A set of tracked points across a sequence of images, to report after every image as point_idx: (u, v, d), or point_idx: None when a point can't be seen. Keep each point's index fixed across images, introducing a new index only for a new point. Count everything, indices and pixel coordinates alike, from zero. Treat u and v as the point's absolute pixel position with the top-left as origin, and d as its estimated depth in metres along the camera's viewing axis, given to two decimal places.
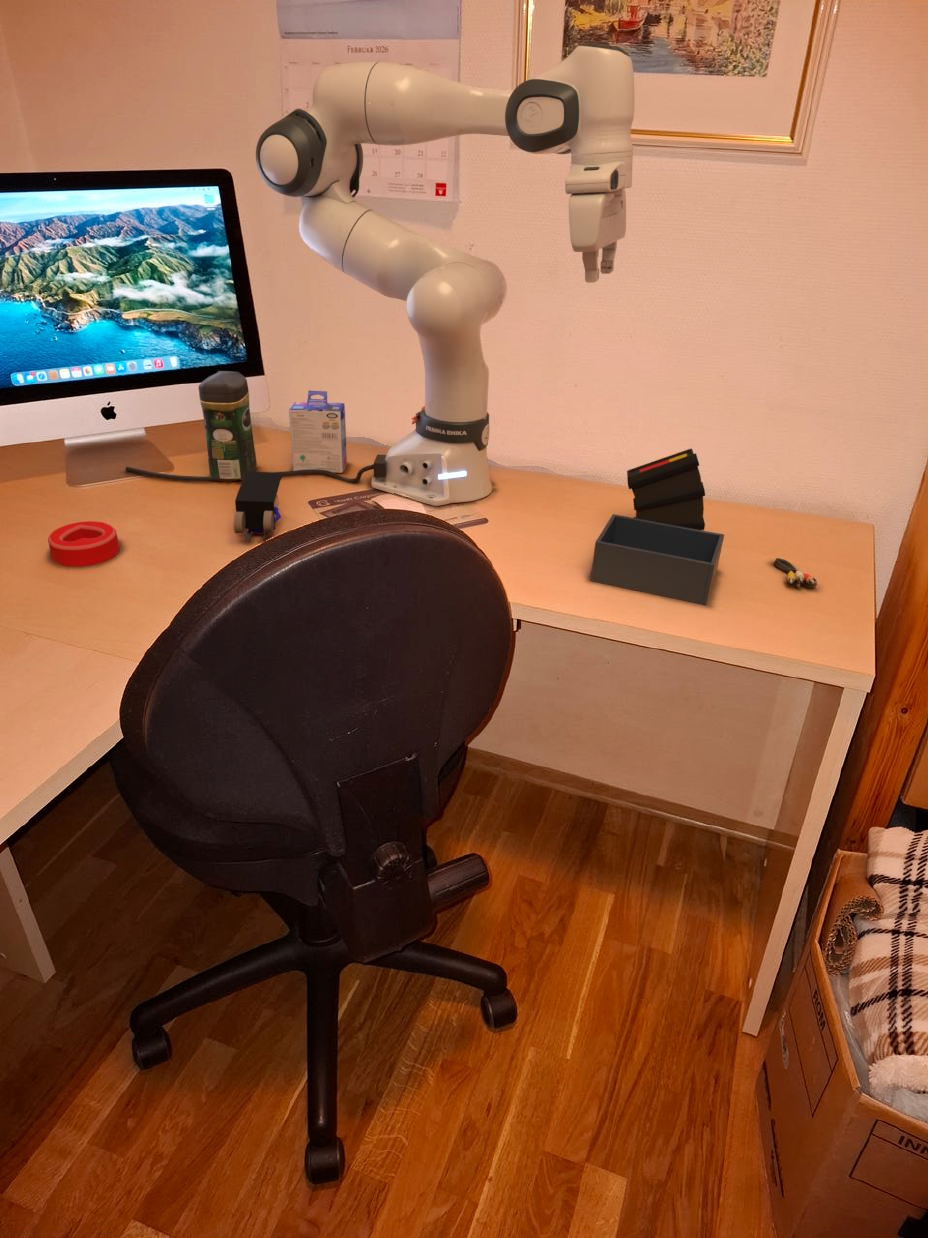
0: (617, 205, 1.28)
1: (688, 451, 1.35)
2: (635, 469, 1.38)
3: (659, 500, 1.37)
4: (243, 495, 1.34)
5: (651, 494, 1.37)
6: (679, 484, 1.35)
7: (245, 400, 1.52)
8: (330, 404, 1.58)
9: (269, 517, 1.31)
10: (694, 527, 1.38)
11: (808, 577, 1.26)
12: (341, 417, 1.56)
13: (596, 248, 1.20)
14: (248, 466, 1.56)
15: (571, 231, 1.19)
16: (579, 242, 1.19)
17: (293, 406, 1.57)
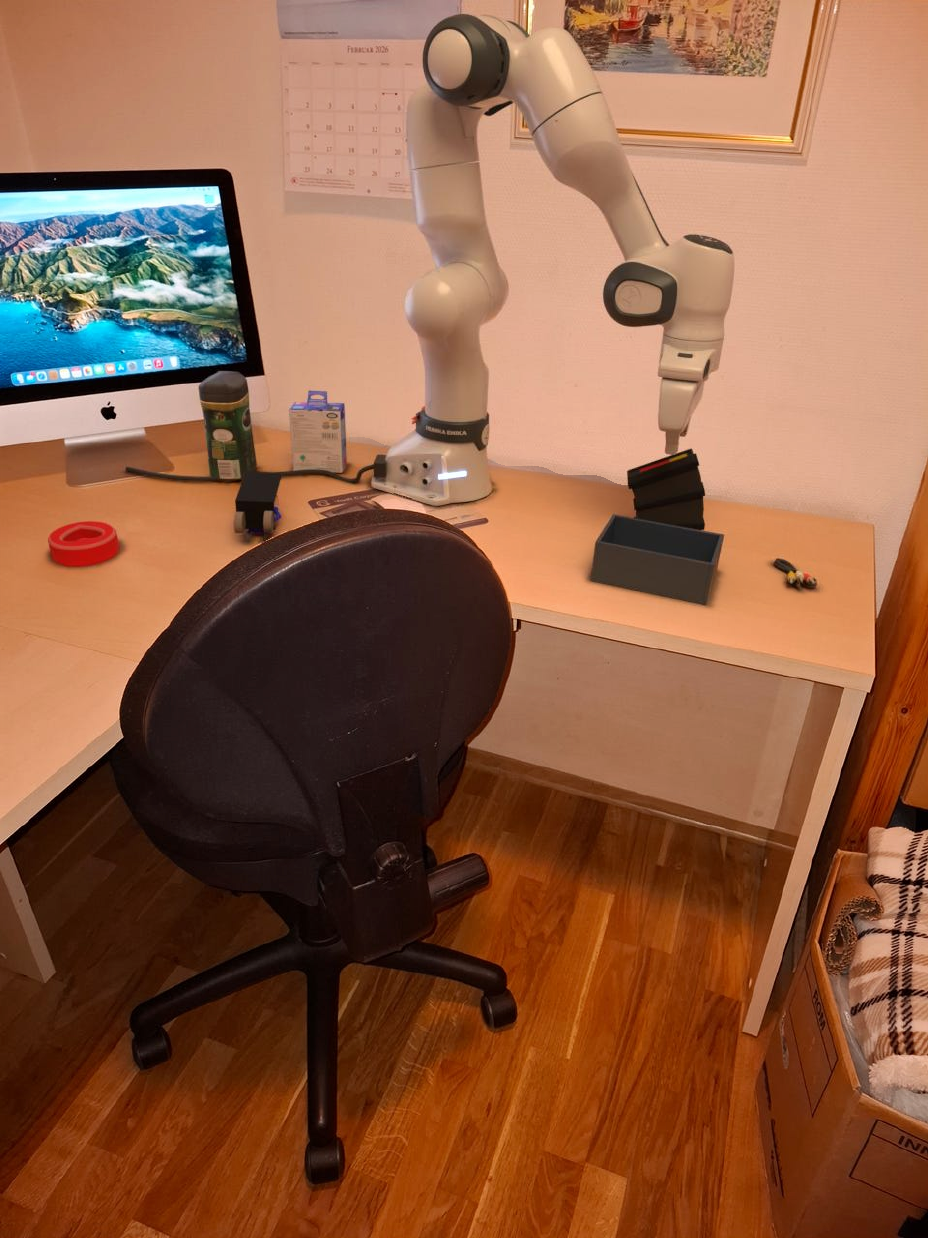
0: None
1: (688, 451, 1.35)
2: (635, 469, 1.38)
3: (659, 500, 1.37)
4: (243, 495, 1.34)
5: (651, 494, 1.37)
6: (679, 484, 1.35)
7: (245, 400, 1.52)
8: (330, 404, 1.58)
9: (269, 517, 1.31)
10: (694, 527, 1.38)
11: (808, 577, 1.26)
12: (341, 417, 1.56)
13: (682, 431, 1.23)
14: (248, 466, 1.56)
15: (660, 413, 1.22)
16: (666, 424, 1.23)
17: (293, 406, 1.57)
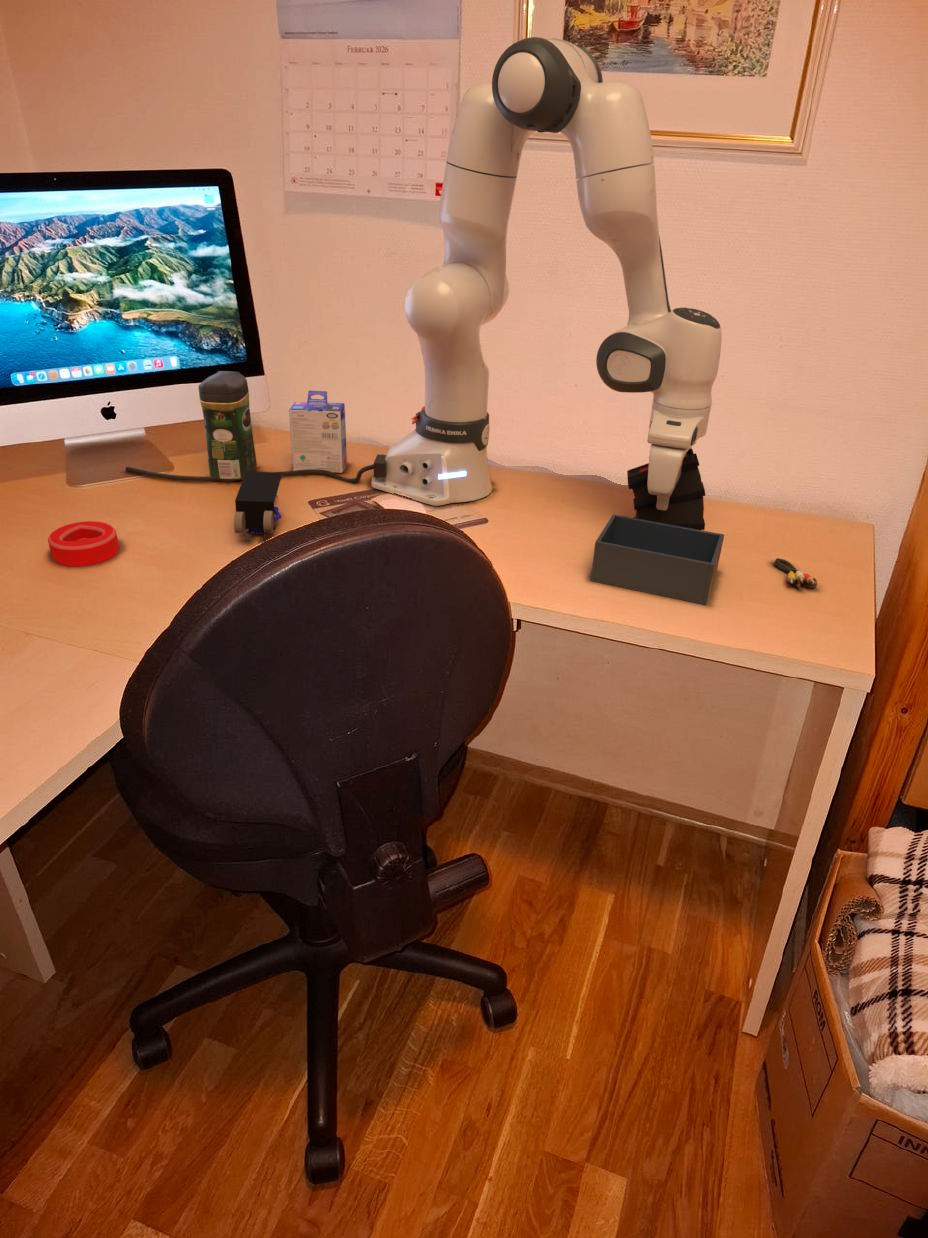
0: None
1: (688, 451, 1.35)
2: (635, 469, 1.38)
3: None
4: (243, 495, 1.34)
5: (651, 494, 1.37)
6: (679, 484, 1.35)
7: (245, 400, 1.52)
8: (330, 404, 1.58)
9: (269, 517, 1.31)
10: (694, 527, 1.38)
11: (808, 577, 1.26)
12: (341, 417, 1.56)
13: (670, 495, 1.28)
14: (248, 466, 1.56)
15: (649, 478, 1.27)
16: (655, 488, 1.28)
17: (293, 406, 1.57)
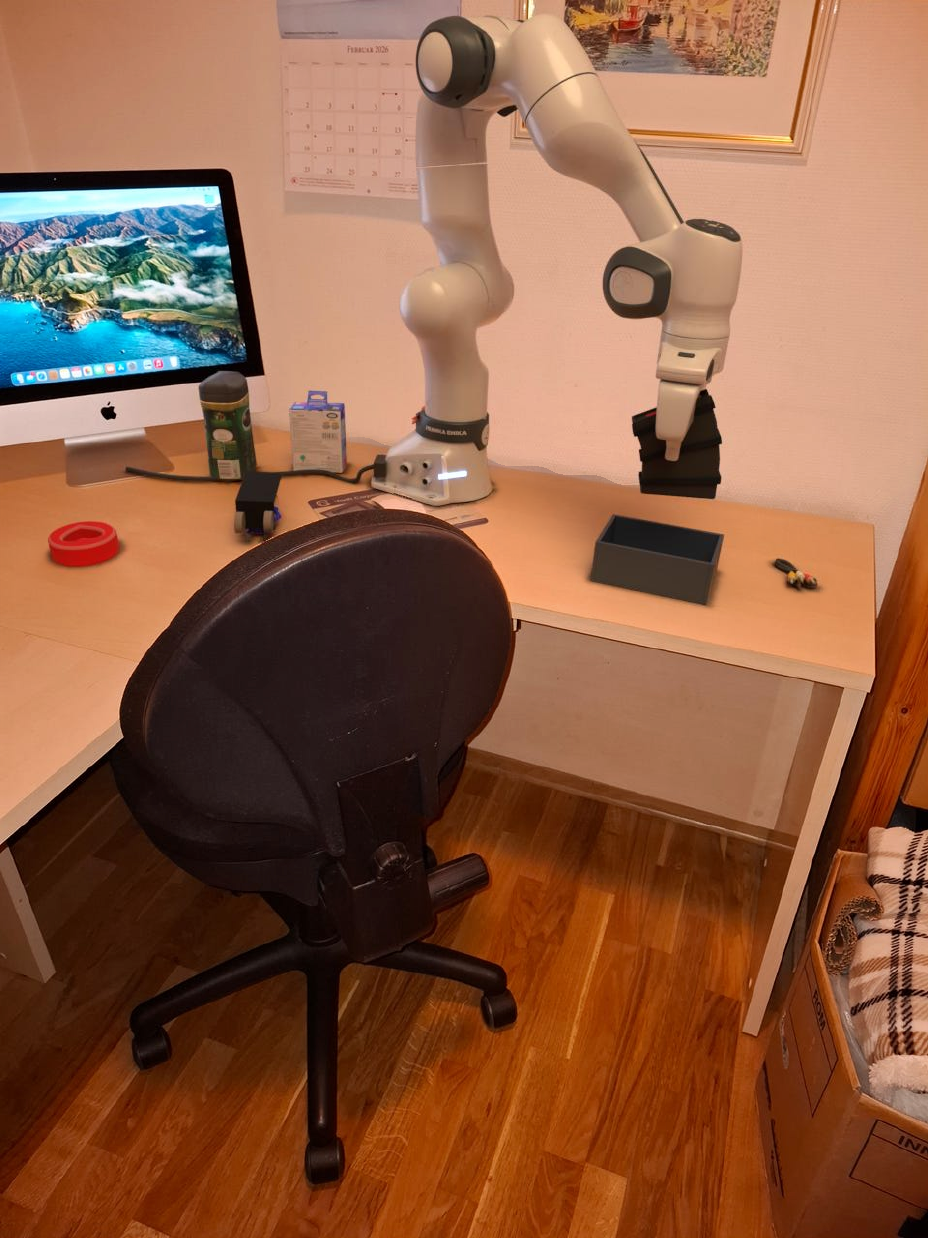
0: None
1: (702, 392, 1.17)
2: (641, 414, 1.20)
3: None
4: (243, 495, 1.34)
5: (659, 443, 1.19)
6: (692, 431, 1.17)
7: (245, 400, 1.52)
8: (330, 404, 1.58)
9: (269, 517, 1.31)
10: (709, 481, 1.20)
11: (808, 577, 1.26)
12: (341, 417, 1.56)
13: (682, 439, 1.10)
14: (248, 466, 1.56)
15: (658, 419, 1.09)
16: (665, 432, 1.10)
17: (293, 406, 1.57)
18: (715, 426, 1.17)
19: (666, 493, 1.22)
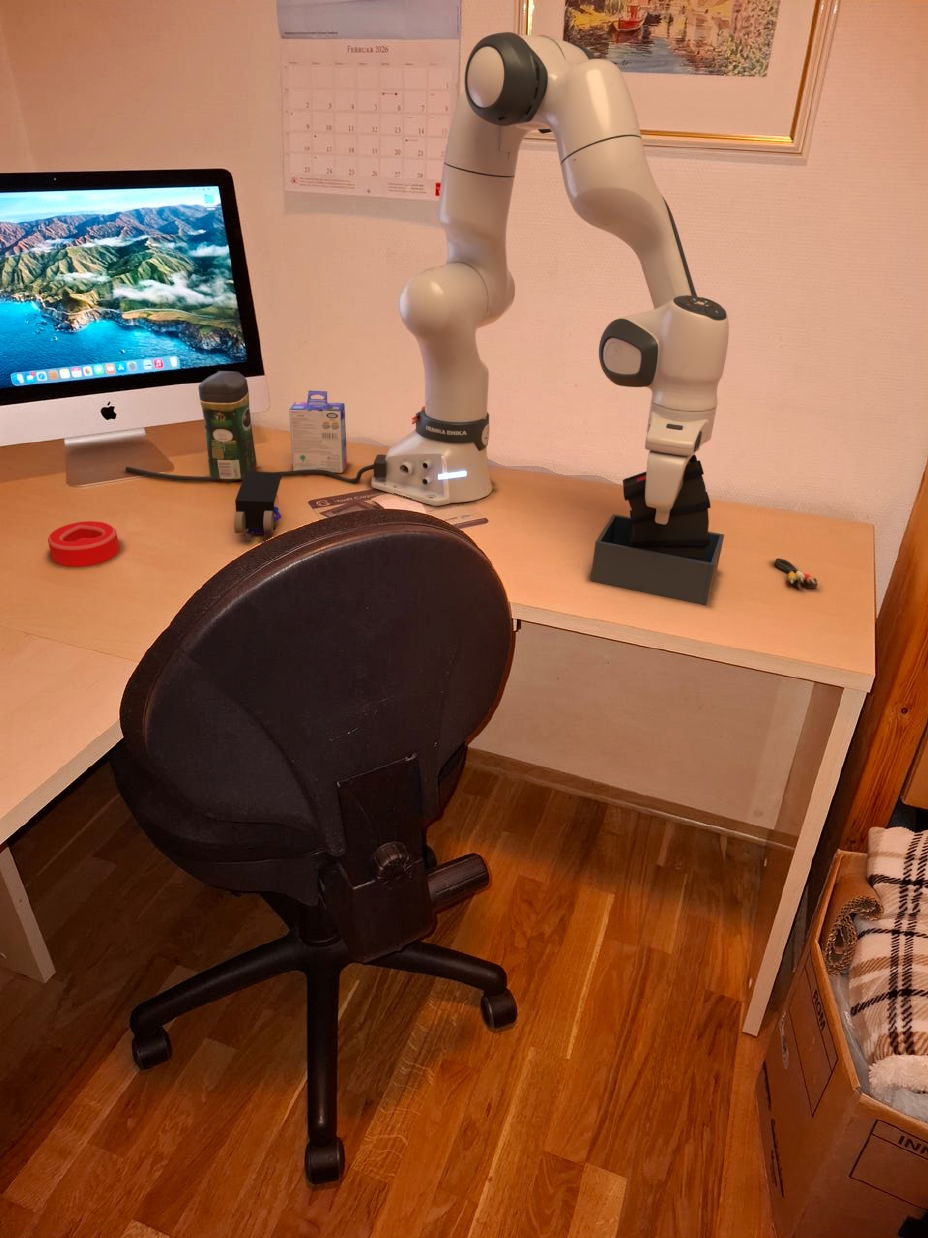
0: None
1: (691, 458, 1.20)
2: (632, 478, 1.23)
3: None
4: (243, 495, 1.34)
5: None
6: (681, 495, 1.21)
7: (245, 400, 1.52)
8: (330, 404, 1.58)
9: (269, 517, 1.31)
10: (698, 543, 1.24)
11: (809, 577, 1.26)
12: (341, 417, 1.56)
13: (671, 507, 1.14)
14: (248, 466, 1.56)
15: (647, 489, 1.13)
16: (654, 500, 1.13)
17: (293, 406, 1.57)
18: (704, 491, 1.20)
19: None
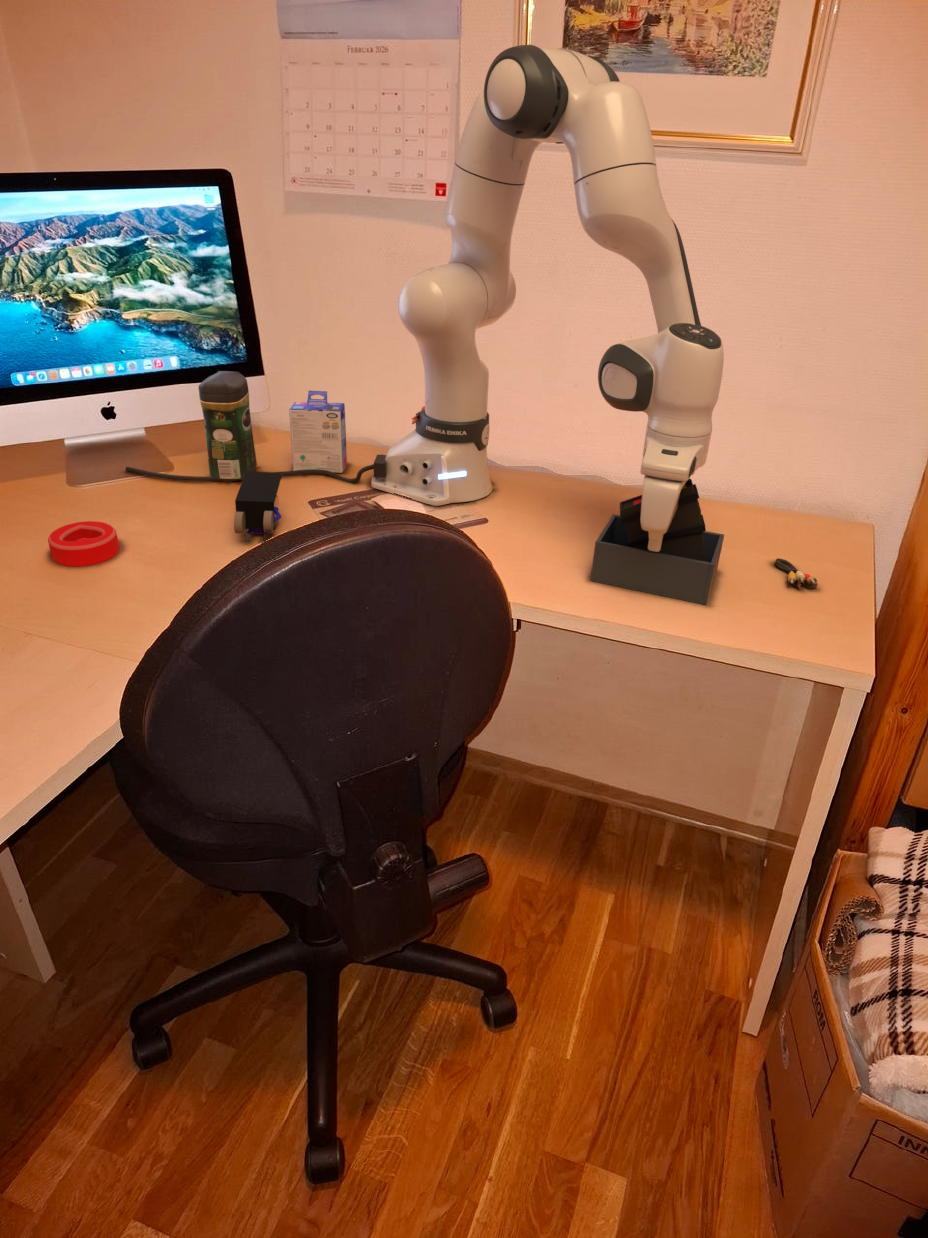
0: None
1: (687, 482, 1.22)
2: (628, 501, 1.25)
3: None
4: (243, 495, 1.34)
5: None
6: (677, 518, 1.23)
7: (245, 400, 1.52)
8: (330, 404, 1.58)
9: (269, 517, 1.31)
10: None
11: (809, 577, 1.26)
12: (341, 417, 1.56)
13: (666, 531, 1.15)
14: (248, 466, 1.56)
15: (642, 513, 1.15)
16: (649, 524, 1.15)
17: (293, 406, 1.57)
18: (699, 514, 1.22)
19: None
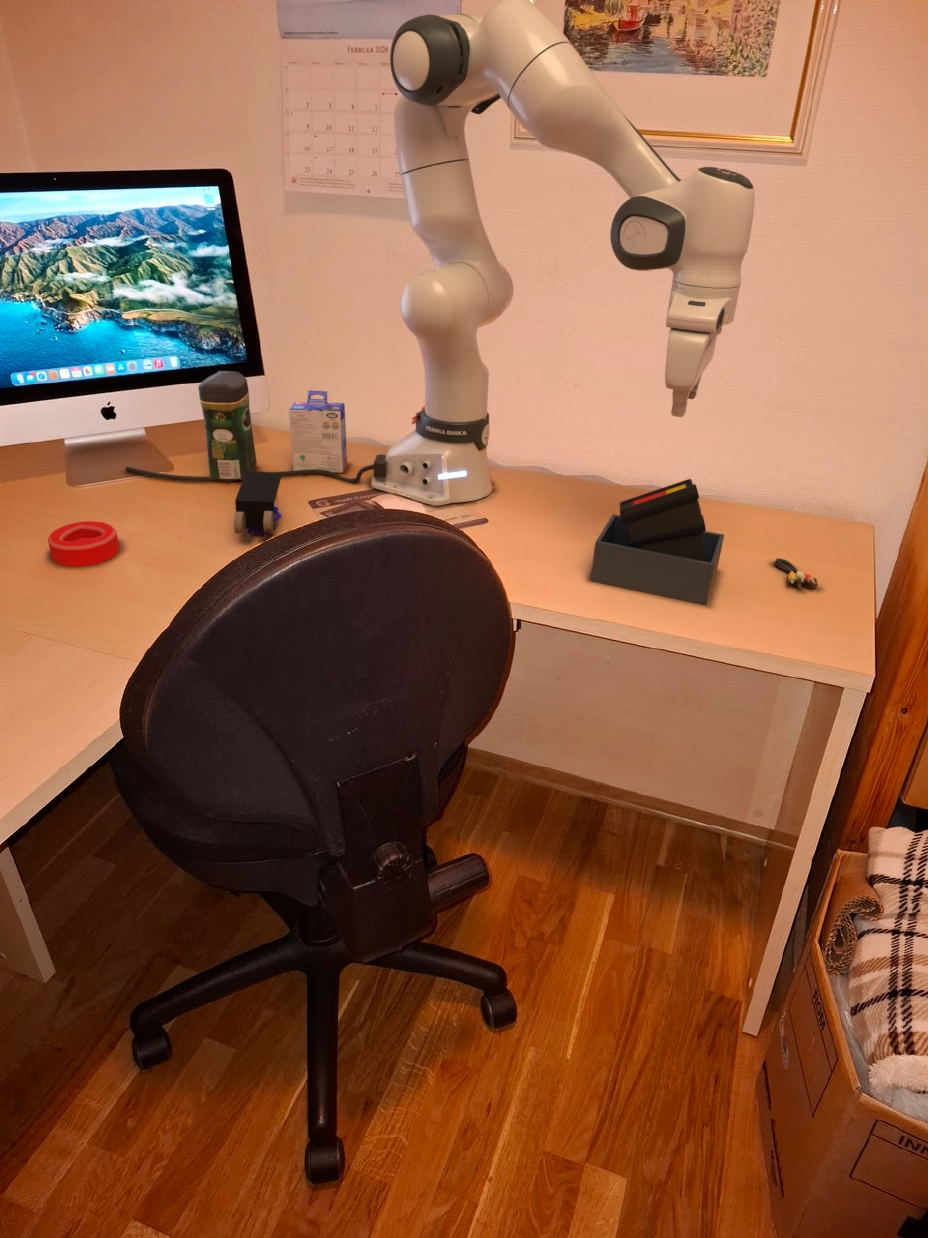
0: None
1: (687, 482, 1.22)
2: (628, 501, 1.25)
3: (655, 535, 1.24)
4: (243, 495, 1.34)
5: (646, 529, 1.24)
6: (677, 518, 1.23)
7: (245, 400, 1.52)
8: (330, 404, 1.58)
9: (269, 517, 1.31)
10: None
11: (809, 577, 1.26)
12: (341, 417, 1.56)
13: (691, 389, 1.11)
14: (248, 466, 1.56)
15: (667, 368, 1.10)
16: (674, 381, 1.10)
17: (293, 406, 1.57)
18: (699, 514, 1.22)
19: None
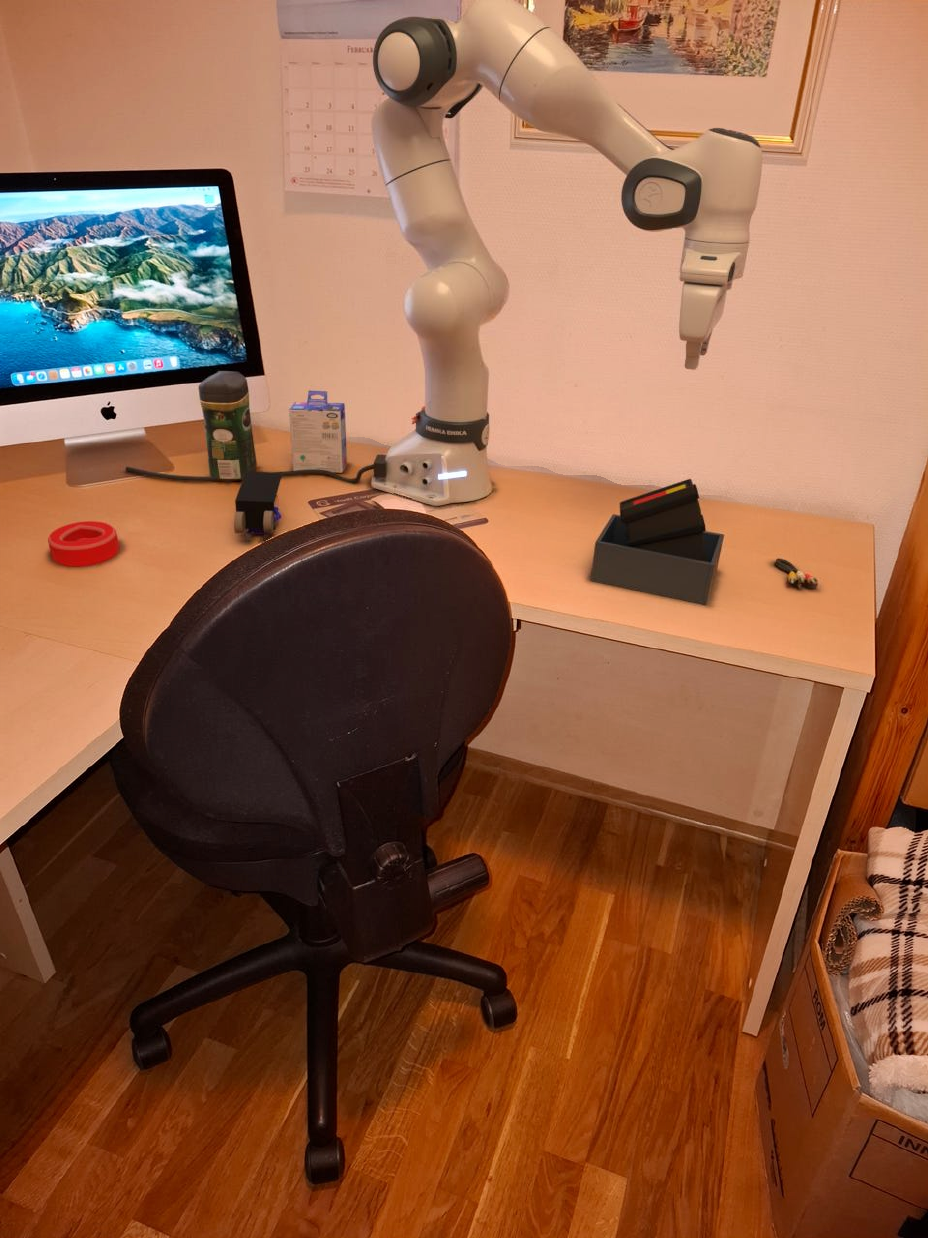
0: None
1: (687, 482, 1.22)
2: (628, 501, 1.25)
3: (655, 535, 1.24)
4: (243, 495, 1.34)
5: (646, 529, 1.24)
6: (677, 518, 1.23)
7: (245, 400, 1.52)
8: (330, 404, 1.58)
9: (269, 517, 1.31)
10: None
11: (809, 577, 1.26)
12: (341, 417, 1.56)
13: (704, 340, 1.16)
14: (248, 466, 1.56)
15: (681, 320, 1.15)
16: (688, 332, 1.16)
17: (293, 406, 1.57)
18: (699, 514, 1.22)
19: None
